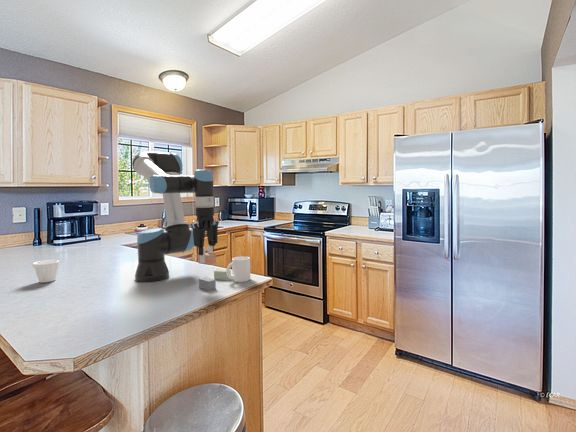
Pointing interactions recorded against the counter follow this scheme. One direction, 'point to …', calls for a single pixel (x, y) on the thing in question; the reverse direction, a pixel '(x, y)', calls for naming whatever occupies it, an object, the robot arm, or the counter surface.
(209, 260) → the terracotta brick
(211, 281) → the slate brick
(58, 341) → the counter surface
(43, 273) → the cup
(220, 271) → the sage brick
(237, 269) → the mug
